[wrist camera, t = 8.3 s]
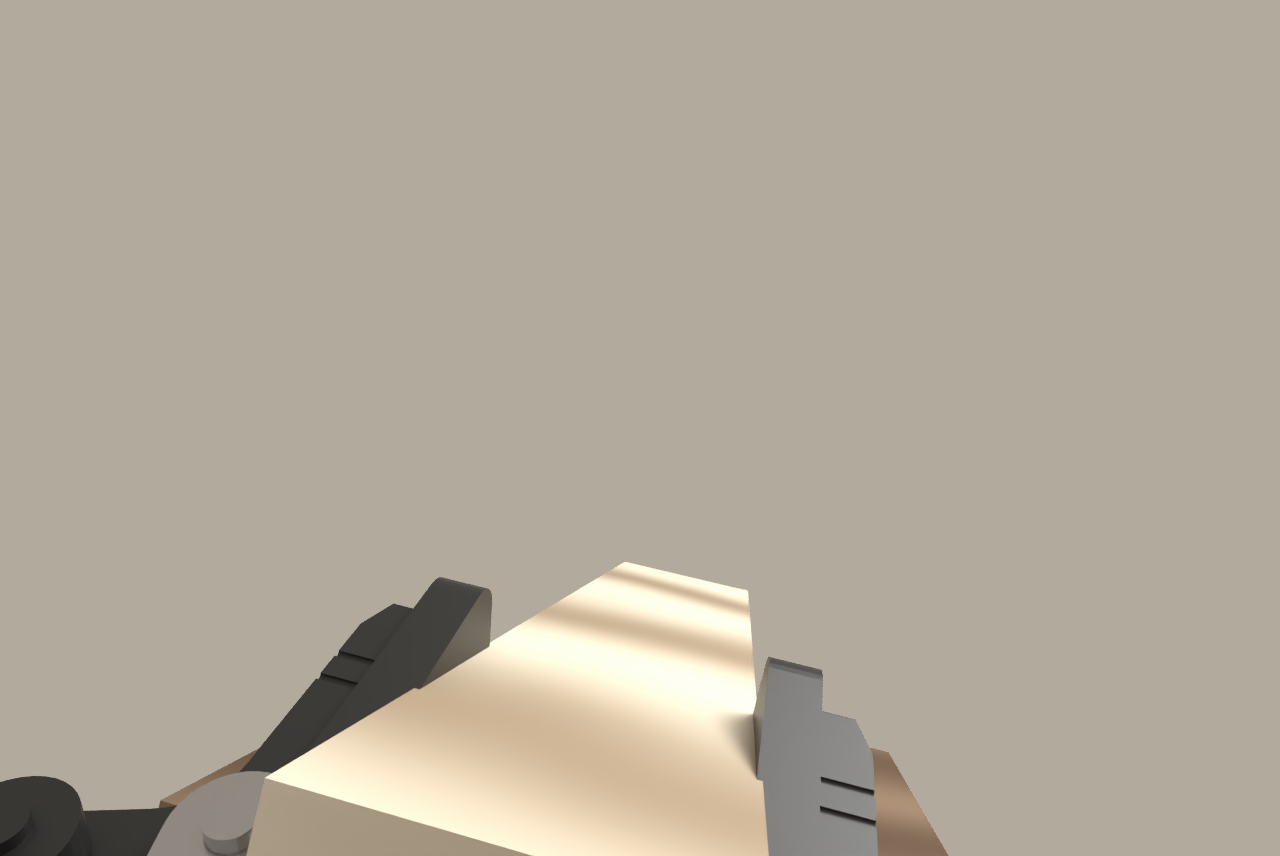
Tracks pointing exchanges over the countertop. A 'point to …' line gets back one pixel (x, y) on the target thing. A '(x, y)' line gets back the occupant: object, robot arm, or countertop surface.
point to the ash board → (552, 741)
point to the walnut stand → (900, 821)
